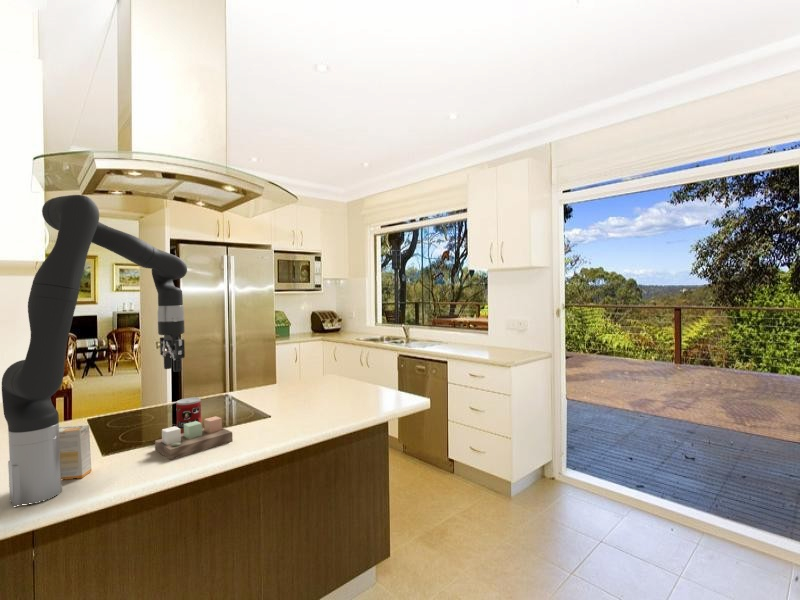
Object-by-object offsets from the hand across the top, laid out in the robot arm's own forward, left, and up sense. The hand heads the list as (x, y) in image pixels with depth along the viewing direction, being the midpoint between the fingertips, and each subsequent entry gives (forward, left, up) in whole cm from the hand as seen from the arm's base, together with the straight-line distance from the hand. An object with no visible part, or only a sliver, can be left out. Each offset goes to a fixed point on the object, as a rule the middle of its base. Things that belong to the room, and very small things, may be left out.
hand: (172, 370), depth 136 cm
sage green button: (+3, -7, -21) cm, 22 cm away
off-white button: (-4, -7, -21) cm, 22 cm away
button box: (+3, -8, -24) cm, 25 cm away
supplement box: (-28, -4, -24) cm, 37 cm away
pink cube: (+9, -7, -21) cm, 24 cm away
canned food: (+8, +8, -24) cm, 27 cm away
